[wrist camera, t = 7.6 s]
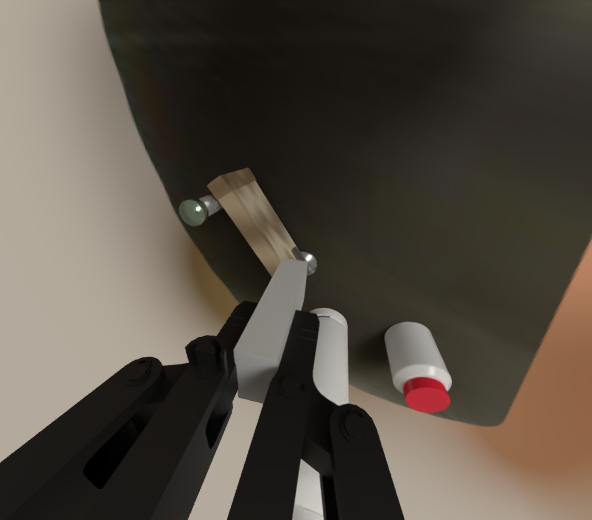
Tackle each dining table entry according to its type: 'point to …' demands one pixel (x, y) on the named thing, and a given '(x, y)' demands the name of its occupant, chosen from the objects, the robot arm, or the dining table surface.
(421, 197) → the dining table surface
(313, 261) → the hinge post
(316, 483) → the bottle
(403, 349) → the pill bottle
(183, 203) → the latch post
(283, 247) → the gate
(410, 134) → the dining table surface
